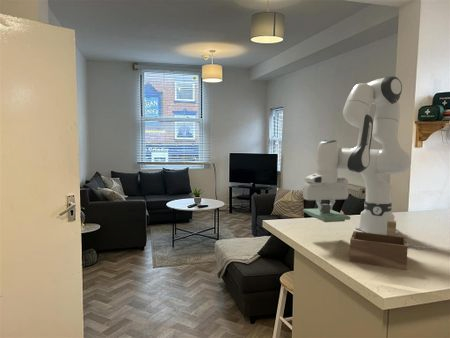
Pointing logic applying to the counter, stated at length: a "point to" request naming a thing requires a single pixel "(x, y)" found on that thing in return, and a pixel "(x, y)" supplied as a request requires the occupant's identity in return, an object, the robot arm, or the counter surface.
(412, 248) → the pliers
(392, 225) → the wooden block
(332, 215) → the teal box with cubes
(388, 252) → the toolbox
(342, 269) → the counter surface
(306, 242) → the counter surface
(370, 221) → the robot arm
